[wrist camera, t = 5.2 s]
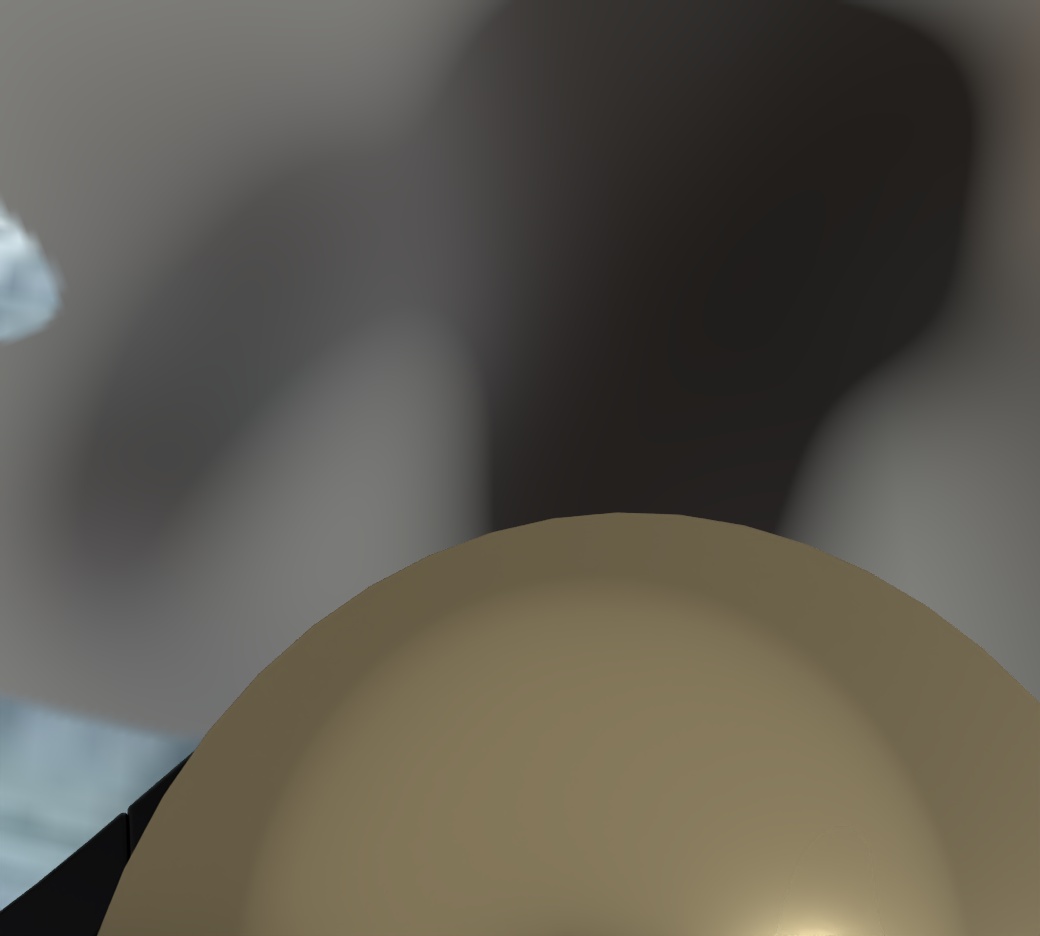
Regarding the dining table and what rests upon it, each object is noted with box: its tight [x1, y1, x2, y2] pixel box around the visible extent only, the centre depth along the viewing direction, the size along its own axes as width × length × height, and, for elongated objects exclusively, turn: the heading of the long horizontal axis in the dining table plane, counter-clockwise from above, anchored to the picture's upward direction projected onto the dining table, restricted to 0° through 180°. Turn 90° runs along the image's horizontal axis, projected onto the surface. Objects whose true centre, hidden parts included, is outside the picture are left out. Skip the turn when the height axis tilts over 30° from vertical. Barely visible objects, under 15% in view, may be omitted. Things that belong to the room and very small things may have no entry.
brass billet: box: [97, 513, 1040, 936], centre depth 9 cm, size 4×4×13 cm
